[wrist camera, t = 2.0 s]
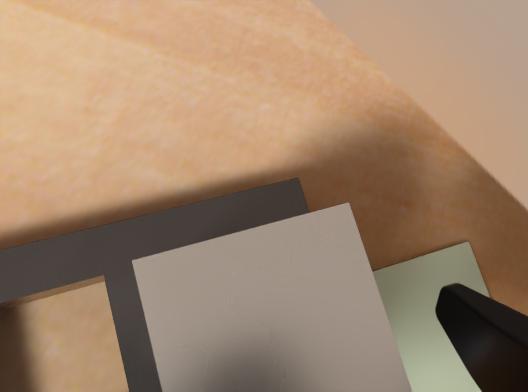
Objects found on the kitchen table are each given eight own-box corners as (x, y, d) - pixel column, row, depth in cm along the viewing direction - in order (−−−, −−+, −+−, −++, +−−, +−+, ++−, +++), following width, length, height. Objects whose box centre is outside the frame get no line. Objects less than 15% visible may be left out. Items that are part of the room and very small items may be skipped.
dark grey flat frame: (346, 396, 17) (372, 412, 15) (-50, 553, 14) (-97, 606, 11) (283, 192, 19) (298, 177, 17) (-87, 285, 15) (-136, 283, 13)
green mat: (528, 414, 19) (535, 417, 18) (393, 477, 17) (397, 481, 17) (463, 242, 20) (468, 241, 20) (332, 284, 18) (335, 284, 18)
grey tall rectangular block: (289, 355, 17) (423, 423, 8) (185, 392, 16) (193, 523, 7) (260, 252, 18) (348, 202, 9) (158, 281, 17) (131, 260, 8)
